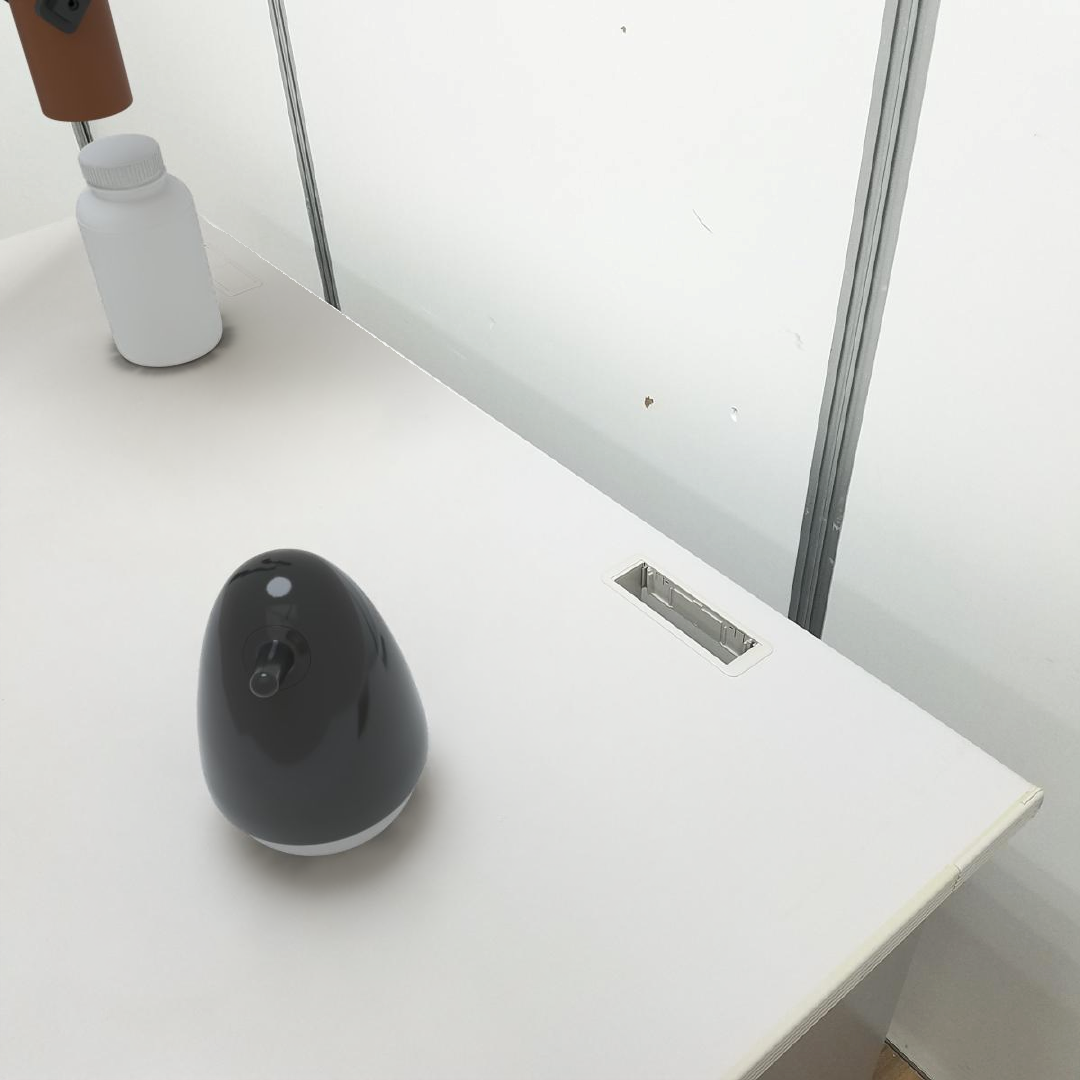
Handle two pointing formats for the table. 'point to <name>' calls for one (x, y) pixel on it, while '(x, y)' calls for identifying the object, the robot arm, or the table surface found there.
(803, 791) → the table surface
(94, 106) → the amber bottle
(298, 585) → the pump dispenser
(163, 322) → the pill bottle
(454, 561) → the table surface
